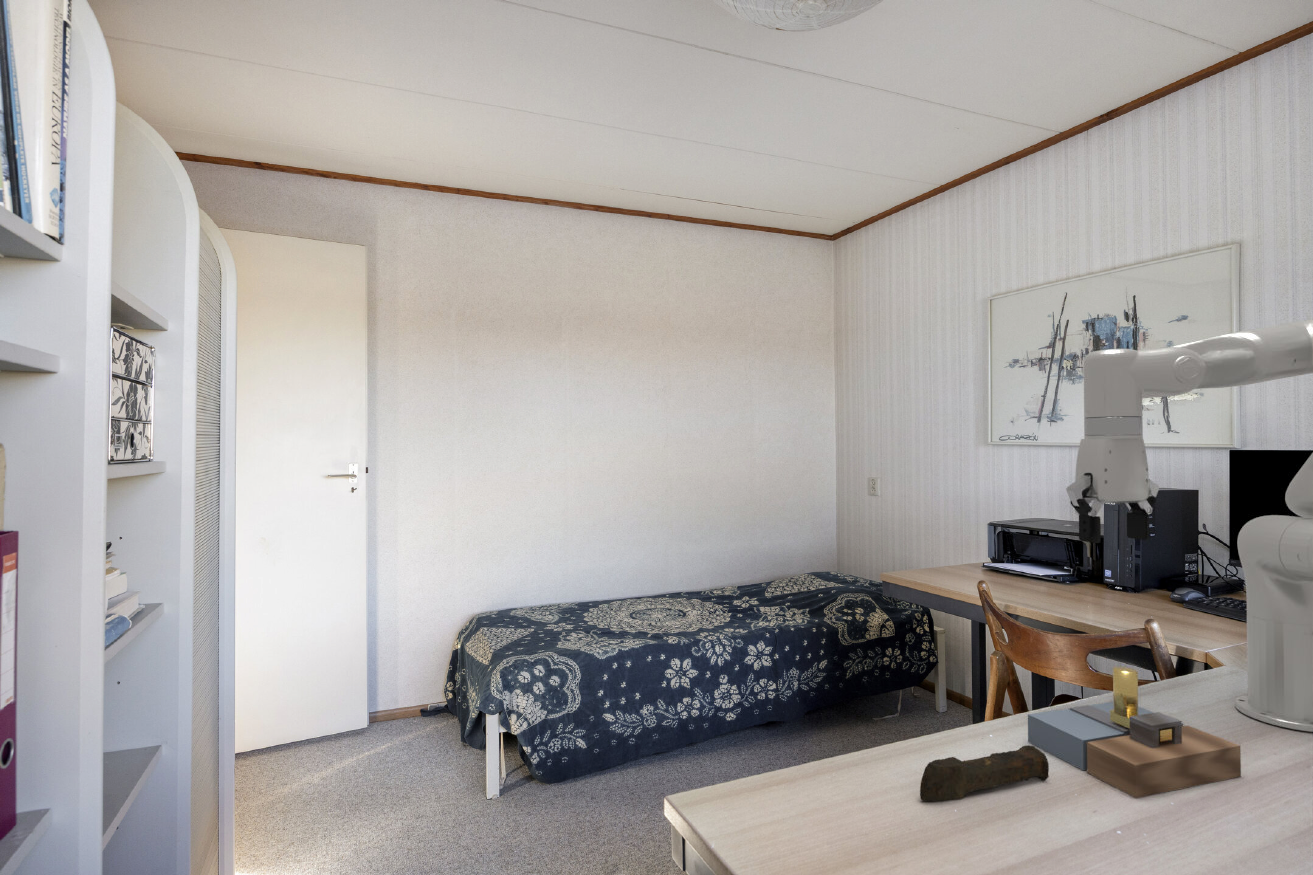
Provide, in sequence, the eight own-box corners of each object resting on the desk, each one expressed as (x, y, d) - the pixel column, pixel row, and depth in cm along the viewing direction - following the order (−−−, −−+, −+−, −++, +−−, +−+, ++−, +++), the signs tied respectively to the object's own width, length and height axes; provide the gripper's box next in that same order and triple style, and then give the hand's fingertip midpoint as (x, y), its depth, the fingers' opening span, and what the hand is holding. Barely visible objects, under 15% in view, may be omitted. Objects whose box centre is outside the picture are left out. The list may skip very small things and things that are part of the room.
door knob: (1123, 718, 95) (1122, 665, 95) (1174, 739, 88) (1173, 682, 88) (1108, 720, 94) (1107, 667, 94) (1158, 741, 87) (1157, 684, 87)
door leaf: (1122, 726, 103) (1122, 698, 103) (1183, 752, 94) (1183, 721, 94) (1028, 741, 98) (1027, 711, 98) (1083, 770, 89) (1082, 737, 89)
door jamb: (1187, 754, 94) (1187, 704, 94) (1240, 776, 87) (1240, 723, 87) (1087, 772, 88) (1086, 719, 89) (1135, 797, 82) (1135, 741, 82)
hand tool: (1025, 769, 90) (1024, 734, 90) (1051, 784, 86) (1050, 747, 86) (906, 793, 84) (905, 755, 84) (928, 809, 80) (927, 770, 80)
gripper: (1131, 430, 110) (1133, 534, 110) (1048, 430, 105) (1049, 539, 105) (1179, 429, 103) (1180, 541, 103) (1091, 429, 98) (1092, 546, 98)
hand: (1114, 540), depth 104 cm, fingers open, 9 cm apart
